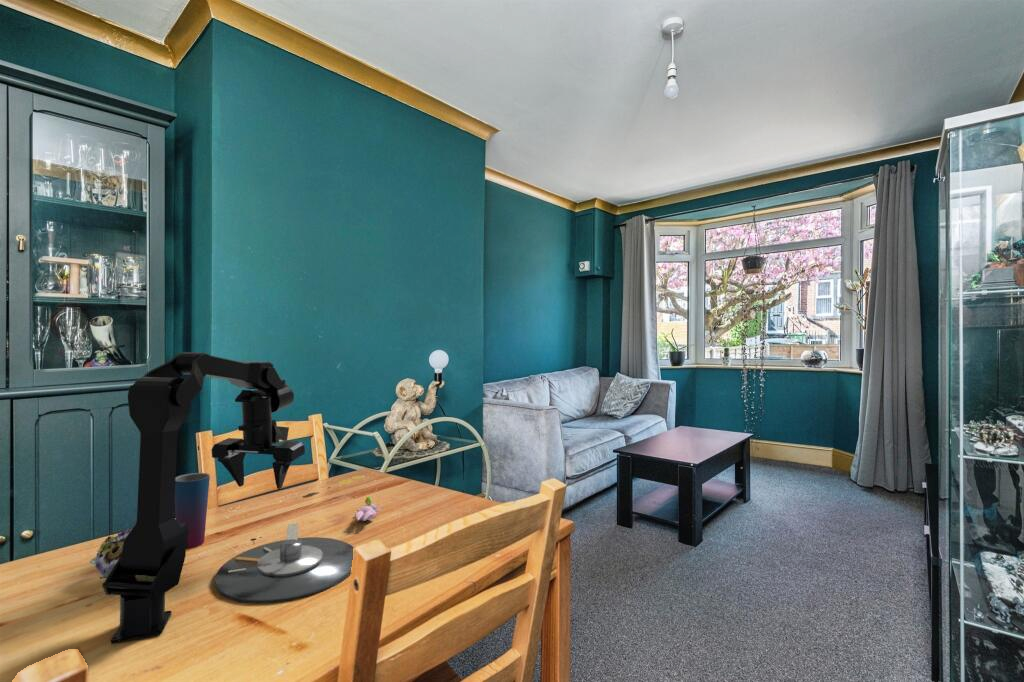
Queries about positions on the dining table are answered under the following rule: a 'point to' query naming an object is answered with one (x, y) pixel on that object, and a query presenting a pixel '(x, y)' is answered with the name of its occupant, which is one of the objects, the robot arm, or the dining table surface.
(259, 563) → the dial
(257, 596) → the dial plate
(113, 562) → the passion flower
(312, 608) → the dining table surface
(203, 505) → the cup
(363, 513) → the purple flower
